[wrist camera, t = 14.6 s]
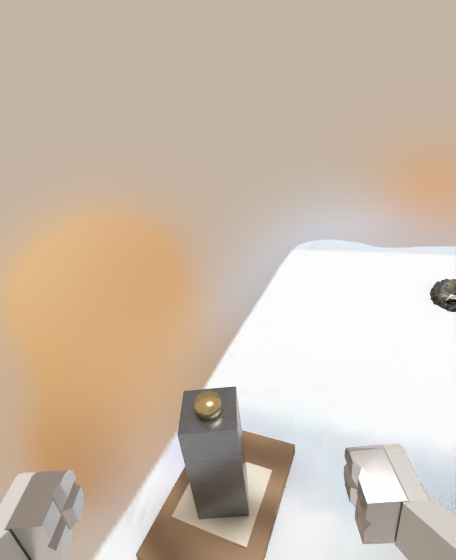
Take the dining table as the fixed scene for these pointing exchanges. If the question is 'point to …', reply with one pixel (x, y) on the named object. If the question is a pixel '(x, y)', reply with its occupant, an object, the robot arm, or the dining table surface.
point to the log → (445, 294)
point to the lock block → (214, 452)
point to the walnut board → (229, 530)
